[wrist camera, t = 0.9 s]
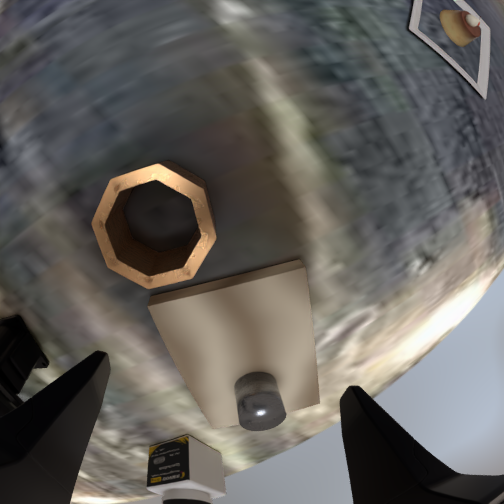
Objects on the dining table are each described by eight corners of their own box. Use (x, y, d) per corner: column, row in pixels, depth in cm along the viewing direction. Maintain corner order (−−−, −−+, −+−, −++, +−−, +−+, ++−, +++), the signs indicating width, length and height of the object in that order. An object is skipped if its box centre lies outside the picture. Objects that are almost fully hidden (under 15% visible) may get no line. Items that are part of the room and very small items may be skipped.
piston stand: (212, 418, 28) (212, 429, 26) (150, 296, 21) (147, 306, 20) (315, 393, 28) (319, 403, 27) (299, 259, 22) (305, 267, 20)
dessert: (484, 29, 16) (511, 25, 11) (478, 100, 19) (511, 101, 15) (413, -34, 13) (439, -48, 8) (401, 31, 16) (435, 18, 12)
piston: (239, 402, 25) (245, 434, 21) (229, 377, 24) (233, 411, 20) (279, 393, 25) (288, 424, 22) (273, 367, 24) (283, 400, 20)
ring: (133, 269, 20) (120, 296, 17) (104, 181, 18) (81, 190, 14) (221, 247, 21) (225, 270, 17) (198, 151, 18) (195, 153, 14)
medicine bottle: (188, 433, 28) (191, 518, 17) (222, 453, 31) (232, 527, 20) (148, 445, 29) (144, 521, 18) (183, 464, 32) (186, 532, 21)
